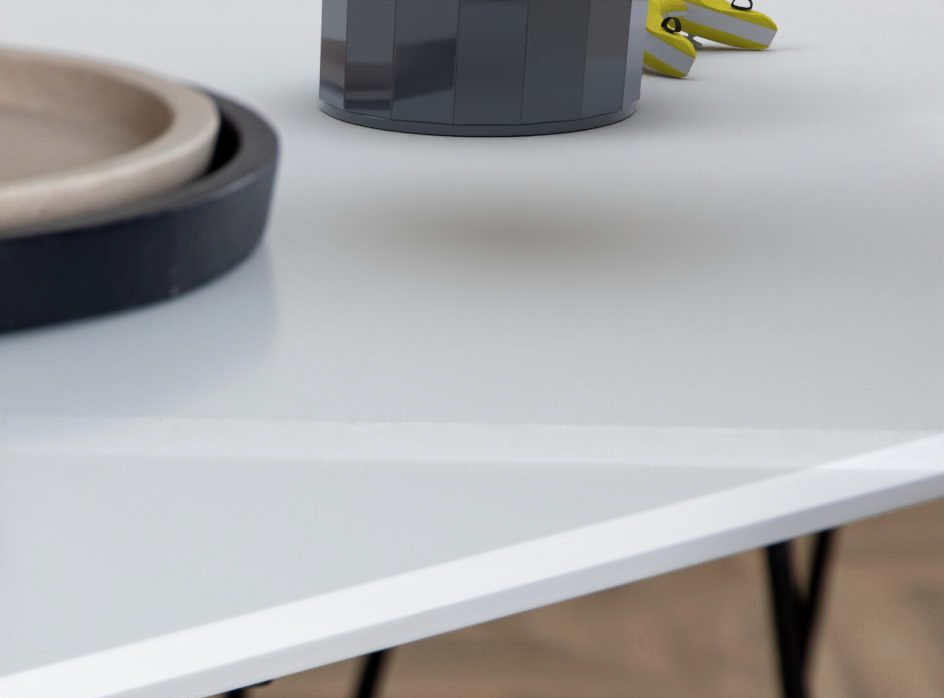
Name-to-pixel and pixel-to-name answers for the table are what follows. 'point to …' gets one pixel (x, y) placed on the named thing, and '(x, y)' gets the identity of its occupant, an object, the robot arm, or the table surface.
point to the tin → (481, 64)
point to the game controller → (700, 31)
